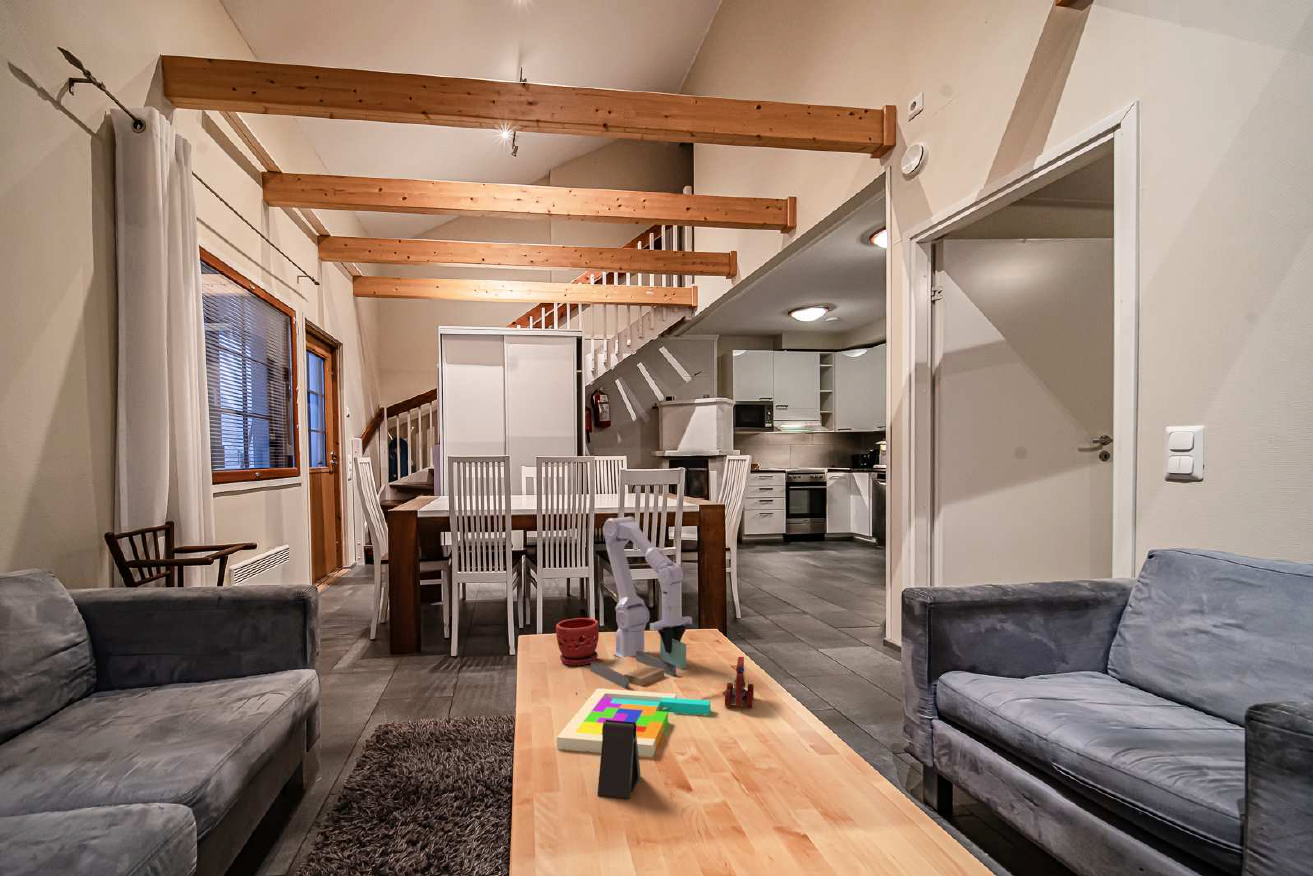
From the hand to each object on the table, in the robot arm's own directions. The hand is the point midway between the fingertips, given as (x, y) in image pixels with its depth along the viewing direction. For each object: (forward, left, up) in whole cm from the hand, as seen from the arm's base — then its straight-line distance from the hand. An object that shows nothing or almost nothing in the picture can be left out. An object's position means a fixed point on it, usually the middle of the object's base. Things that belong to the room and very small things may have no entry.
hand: (671, 651), depth 189 cm
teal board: (+1, 0, -4) cm, 4 cm away
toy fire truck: (+32, -3, -5) cm, 33 cm away
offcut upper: (+6, -14, -4) cm, 16 cm away
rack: (0, -14, -5) cm, 15 cm away
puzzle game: (+28, -31, -6) cm, 42 cm away
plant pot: (-23, -19, -5) cm, 30 cm away
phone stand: (+48, -50, -5) cm, 70 cm away
